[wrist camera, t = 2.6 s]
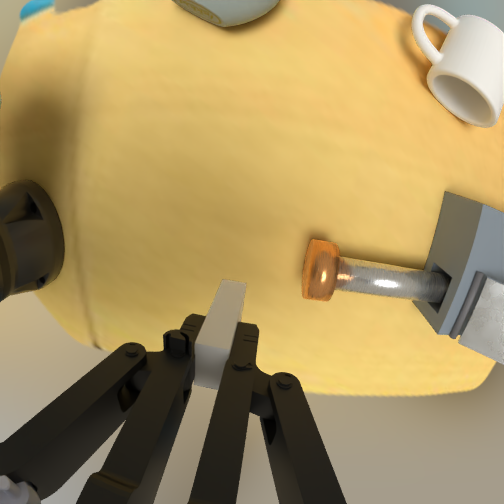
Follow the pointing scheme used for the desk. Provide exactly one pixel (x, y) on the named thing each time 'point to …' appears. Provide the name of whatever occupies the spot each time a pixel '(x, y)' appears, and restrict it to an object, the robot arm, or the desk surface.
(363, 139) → the desk surface
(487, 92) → the mug
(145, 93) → the desk surface
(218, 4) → the air freshener
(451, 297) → the grey box with lid
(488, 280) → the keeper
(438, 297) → the pin
